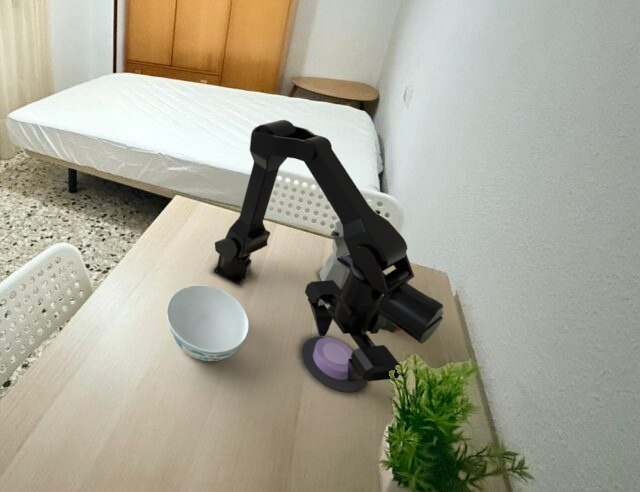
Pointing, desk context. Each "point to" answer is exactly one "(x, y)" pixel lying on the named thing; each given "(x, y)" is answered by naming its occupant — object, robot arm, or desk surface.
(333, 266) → the coffeepot
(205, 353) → the chinaware
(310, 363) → the coaster
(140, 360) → the desk surface
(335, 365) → the purple disc
